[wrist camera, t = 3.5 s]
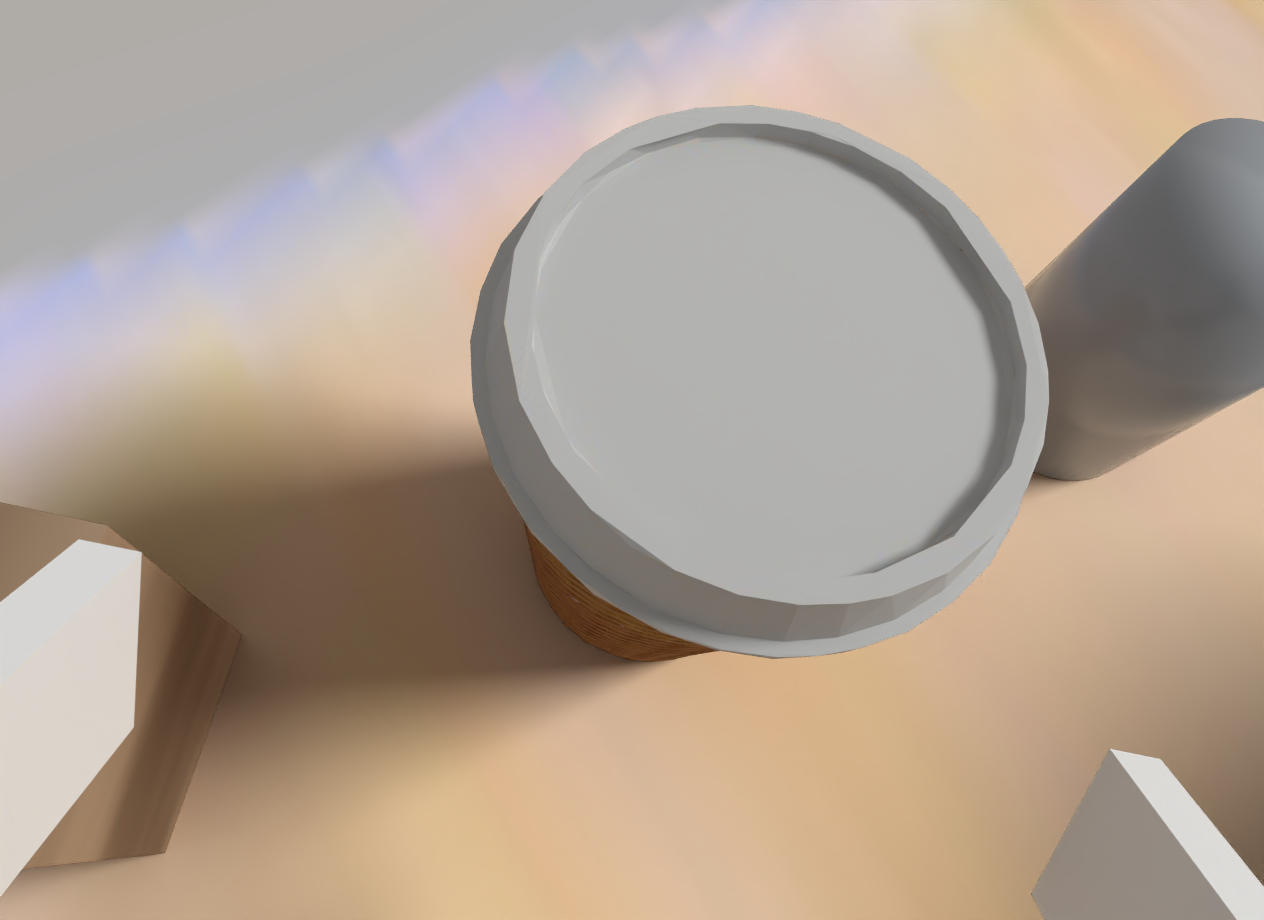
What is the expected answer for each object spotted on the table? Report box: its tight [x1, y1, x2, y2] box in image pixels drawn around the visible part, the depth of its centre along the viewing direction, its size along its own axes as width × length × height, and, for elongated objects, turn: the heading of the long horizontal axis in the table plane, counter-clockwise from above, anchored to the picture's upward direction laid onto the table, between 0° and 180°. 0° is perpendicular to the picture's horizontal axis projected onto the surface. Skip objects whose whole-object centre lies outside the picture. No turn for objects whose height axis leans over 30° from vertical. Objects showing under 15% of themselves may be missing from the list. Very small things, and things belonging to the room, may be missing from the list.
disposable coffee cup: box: [470, 105, 1049, 662], centre depth 19 cm, size 10×10×12 cm
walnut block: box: [0, 502, 242, 869], centre depth 17 cm, size 5×5×9 cm
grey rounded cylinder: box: [1024, 118, 1264, 481], centre depth 25 cm, size 6×6×9 cm
